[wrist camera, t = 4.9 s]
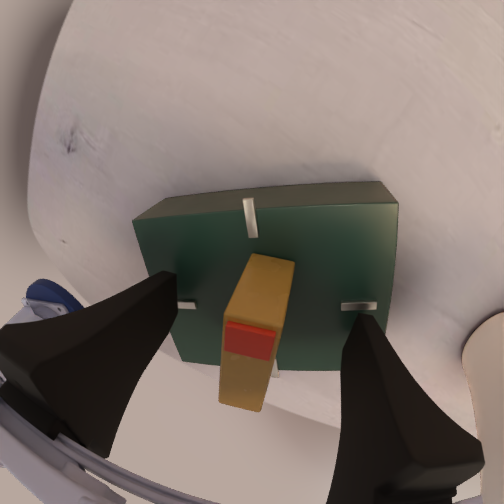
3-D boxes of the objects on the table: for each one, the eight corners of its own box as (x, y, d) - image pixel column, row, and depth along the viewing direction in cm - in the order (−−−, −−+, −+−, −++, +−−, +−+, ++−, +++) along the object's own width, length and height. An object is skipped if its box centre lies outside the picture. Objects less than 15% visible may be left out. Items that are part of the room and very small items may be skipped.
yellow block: (275, 348, 12) (258, 419, 9) (240, 341, 13) (215, 408, 9) (296, 260, 10) (282, 332, 7) (251, 251, 10) (219, 318, 7)
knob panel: (202, 331, 17) (183, 368, 15) (163, 190, 13) (126, 212, 11) (371, 333, 15) (377, 377, 12) (381, 171, 11) (400, 191, 8)
